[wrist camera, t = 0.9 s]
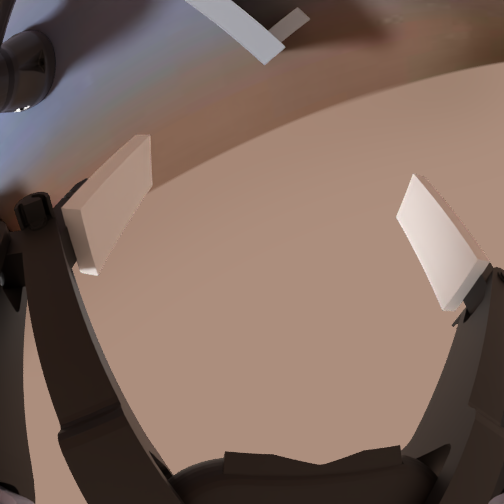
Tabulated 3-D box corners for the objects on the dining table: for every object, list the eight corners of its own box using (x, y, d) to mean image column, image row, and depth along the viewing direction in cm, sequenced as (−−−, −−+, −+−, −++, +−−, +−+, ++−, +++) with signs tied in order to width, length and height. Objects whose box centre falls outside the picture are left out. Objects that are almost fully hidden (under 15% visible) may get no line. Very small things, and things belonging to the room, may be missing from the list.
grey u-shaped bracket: (202, 5, 29) (168, -11, 18) (241, -28, 26) (225, -62, 14) (266, 58, 34) (264, 65, 23) (305, 26, 31) (324, 17, 19)
